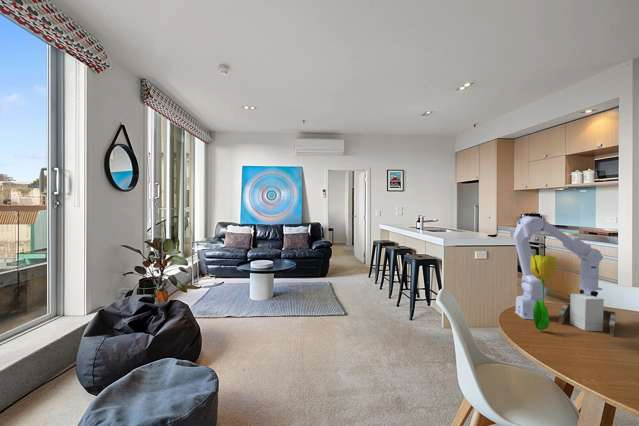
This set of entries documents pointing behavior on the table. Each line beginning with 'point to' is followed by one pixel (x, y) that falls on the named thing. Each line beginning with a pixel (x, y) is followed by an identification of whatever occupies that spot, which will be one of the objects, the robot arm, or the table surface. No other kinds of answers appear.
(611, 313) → the cold frame
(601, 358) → the table surface
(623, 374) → the table surface
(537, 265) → the flower
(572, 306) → the supplement box
